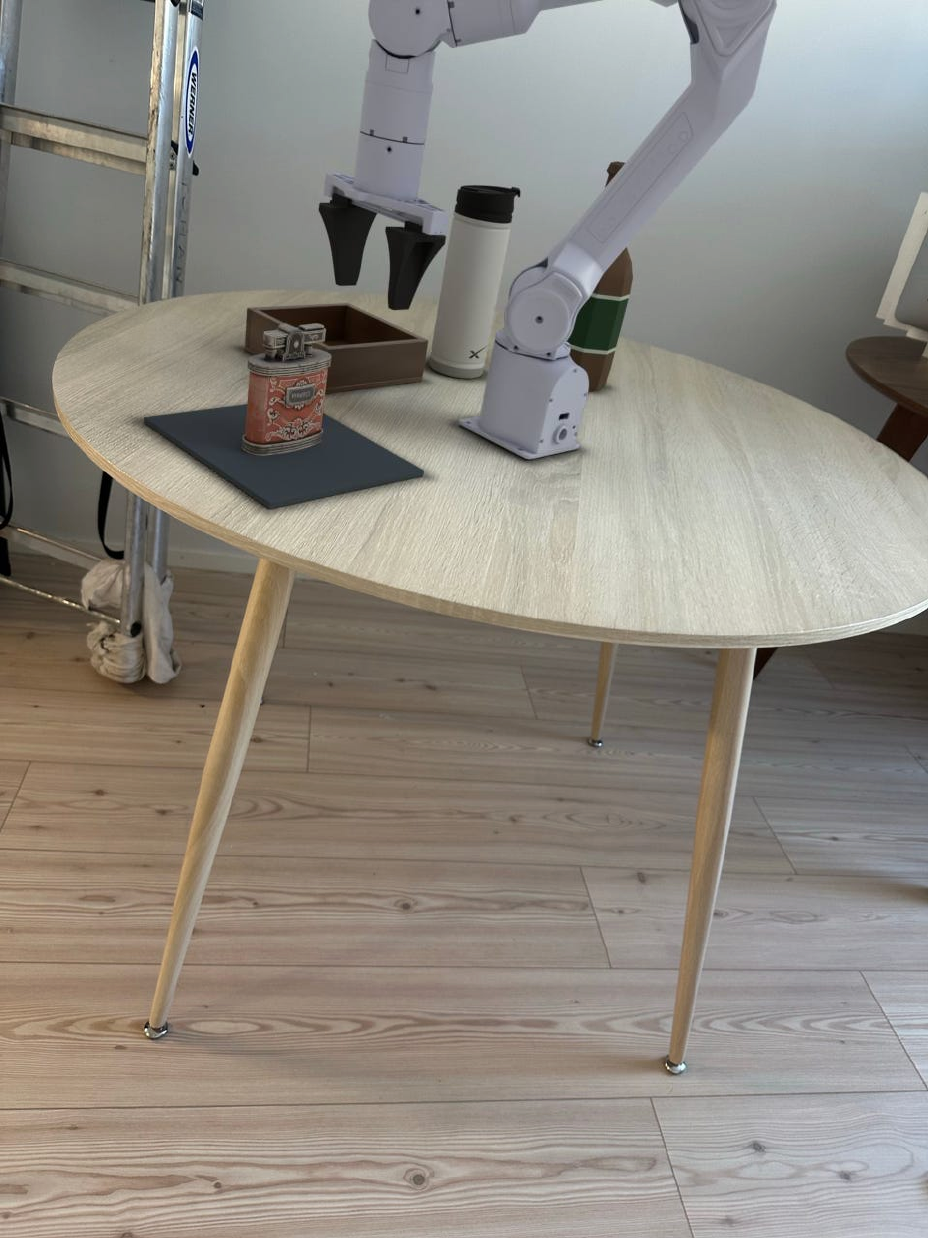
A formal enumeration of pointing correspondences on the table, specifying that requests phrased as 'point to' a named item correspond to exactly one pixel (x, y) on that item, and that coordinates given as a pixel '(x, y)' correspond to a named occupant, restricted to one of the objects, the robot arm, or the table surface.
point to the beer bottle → (602, 316)
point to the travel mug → (471, 279)
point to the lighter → (286, 391)
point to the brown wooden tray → (348, 344)
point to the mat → (283, 457)
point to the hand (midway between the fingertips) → (371, 296)
